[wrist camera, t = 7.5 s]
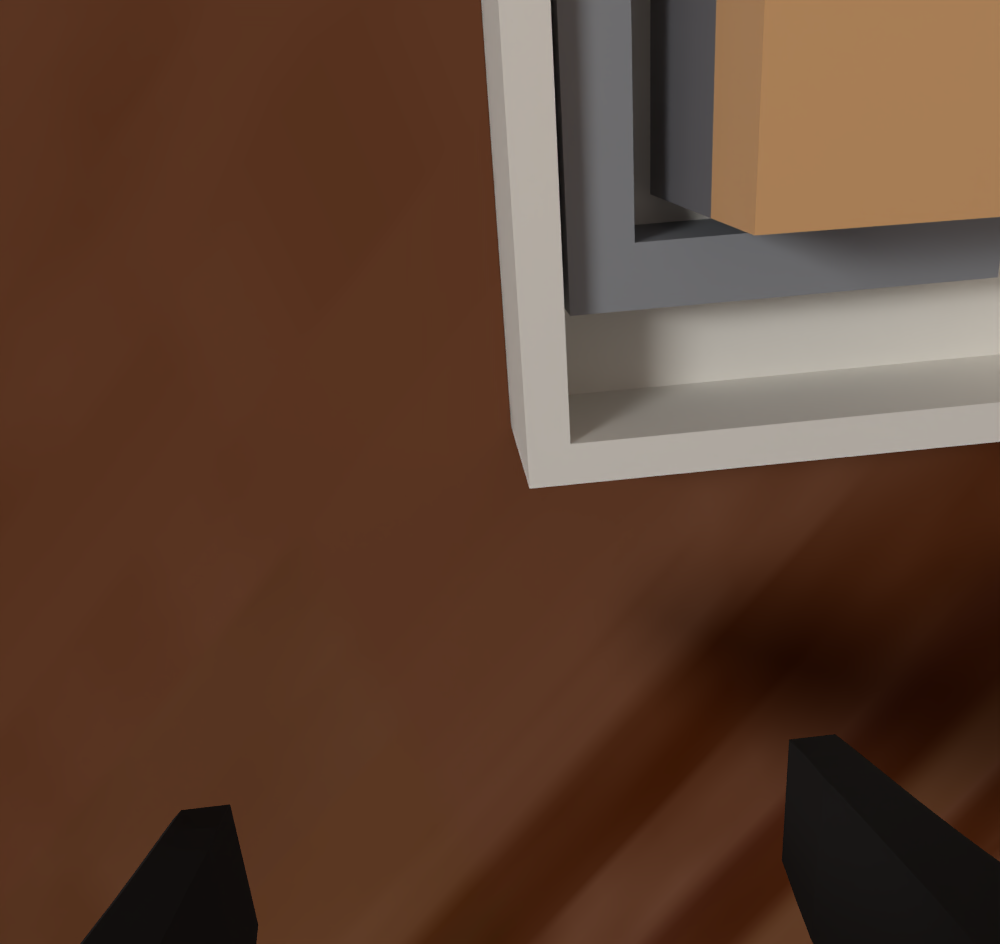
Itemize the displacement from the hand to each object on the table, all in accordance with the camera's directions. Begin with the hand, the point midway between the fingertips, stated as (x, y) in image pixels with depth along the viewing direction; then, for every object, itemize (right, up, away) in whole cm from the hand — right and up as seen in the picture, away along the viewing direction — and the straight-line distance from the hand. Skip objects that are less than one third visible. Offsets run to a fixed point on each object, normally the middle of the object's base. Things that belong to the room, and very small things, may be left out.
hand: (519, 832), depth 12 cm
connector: (+5, +12, +6) cm, 14 cm away
